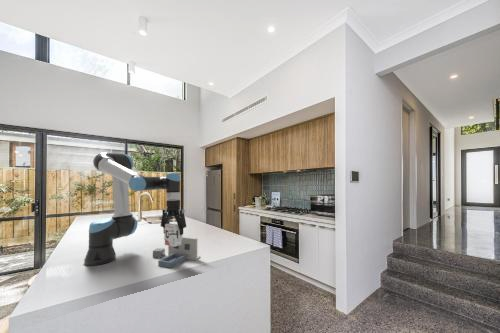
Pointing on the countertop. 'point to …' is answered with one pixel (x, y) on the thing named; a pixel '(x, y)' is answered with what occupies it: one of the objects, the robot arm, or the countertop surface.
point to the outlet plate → (185, 248)
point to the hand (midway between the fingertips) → (173, 239)
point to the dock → (172, 260)
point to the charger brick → (158, 253)
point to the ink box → (171, 234)
